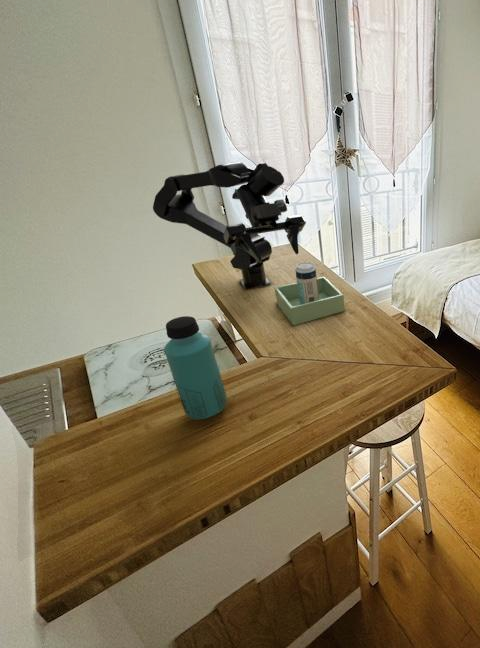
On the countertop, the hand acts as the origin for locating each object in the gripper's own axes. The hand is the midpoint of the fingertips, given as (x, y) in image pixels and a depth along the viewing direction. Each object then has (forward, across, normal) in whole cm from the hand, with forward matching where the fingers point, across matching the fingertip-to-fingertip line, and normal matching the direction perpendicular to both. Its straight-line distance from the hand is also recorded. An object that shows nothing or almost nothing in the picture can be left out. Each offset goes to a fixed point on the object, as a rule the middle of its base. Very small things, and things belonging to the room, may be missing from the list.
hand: (279, 257), depth 103 cm
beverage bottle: (+32, -28, -12) cm, 44 cm away
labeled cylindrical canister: (+14, +4, +5) cm, 15 cm away
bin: (+14, +4, +5) cm, 15 cm away
